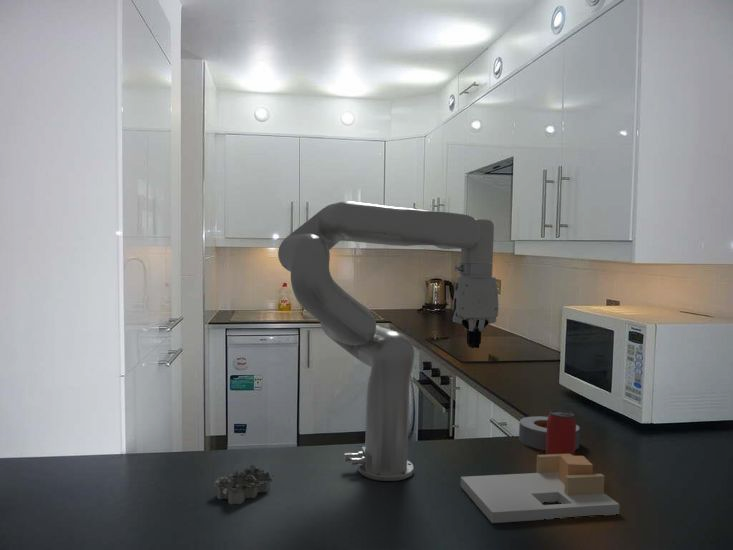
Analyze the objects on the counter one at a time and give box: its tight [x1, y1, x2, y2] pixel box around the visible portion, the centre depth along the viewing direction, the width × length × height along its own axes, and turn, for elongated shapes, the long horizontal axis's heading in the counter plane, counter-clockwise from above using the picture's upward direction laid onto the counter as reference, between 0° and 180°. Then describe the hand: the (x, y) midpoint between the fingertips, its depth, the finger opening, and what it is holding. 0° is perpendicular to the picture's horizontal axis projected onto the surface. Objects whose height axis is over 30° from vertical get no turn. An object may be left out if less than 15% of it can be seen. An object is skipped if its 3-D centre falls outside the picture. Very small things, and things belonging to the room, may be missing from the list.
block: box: [559, 455, 594, 485], centre depth 112 cm, size 5×5×5 cm
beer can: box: [545, 409, 577, 456], centre depth 129 cm, size 7×7×12 cm
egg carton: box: [213, 464, 275, 505], centre depth 108 cm, size 11×8×4 cm
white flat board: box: [460, 454, 620, 524], centre depth 109 cm, size 26×17×6 cm, turn 101°
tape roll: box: [518, 416, 581, 452], centre depth 144 cm, size 15×15×5 cm
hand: (473, 347), depth 129 cm, fingers closed
